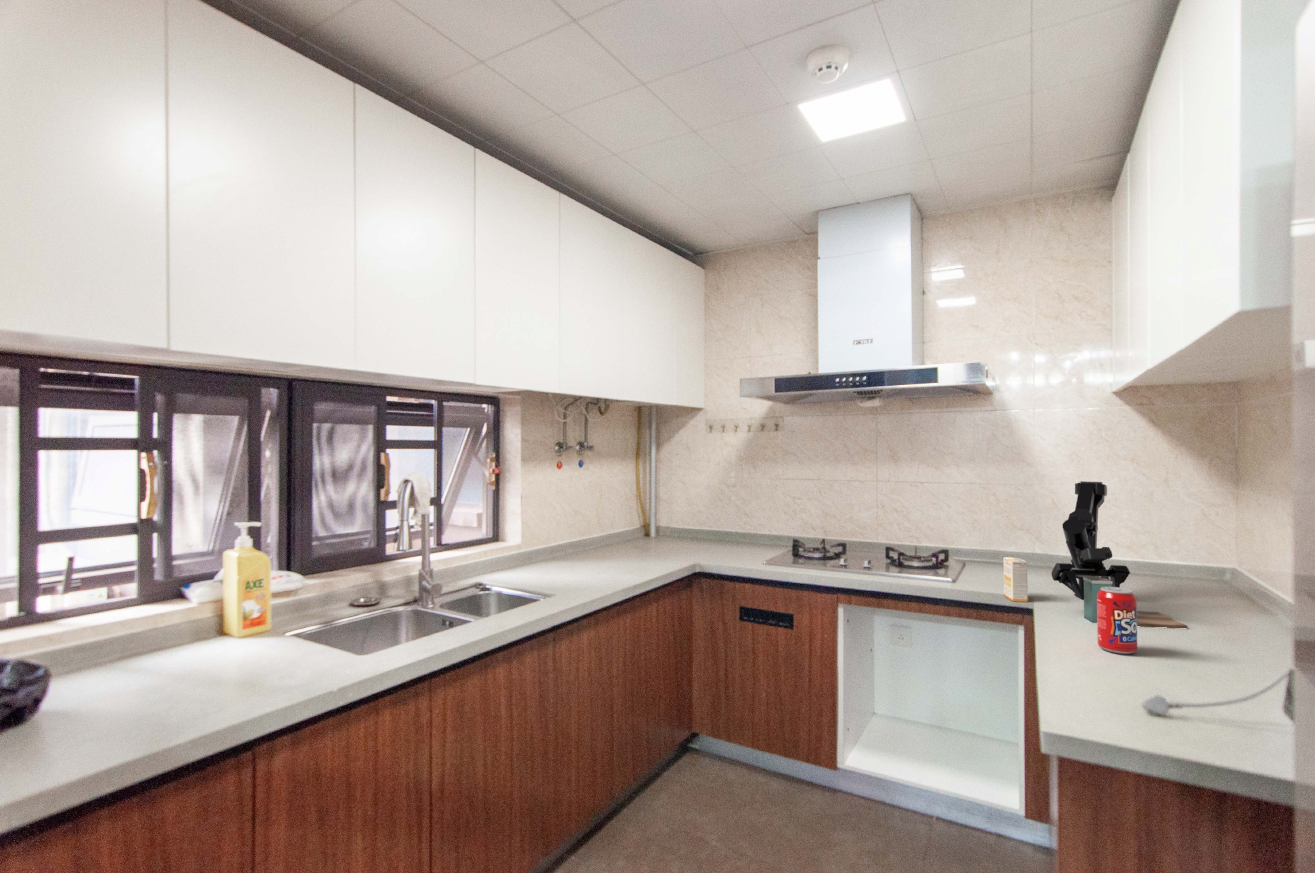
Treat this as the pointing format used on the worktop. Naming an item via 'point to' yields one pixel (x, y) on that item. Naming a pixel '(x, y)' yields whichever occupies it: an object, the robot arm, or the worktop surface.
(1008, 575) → the supplement box
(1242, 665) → the worktop surface
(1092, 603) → the tea tin
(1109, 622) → the soda can
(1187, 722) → the worktop surface
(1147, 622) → the walnut board
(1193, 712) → the worktop surface
